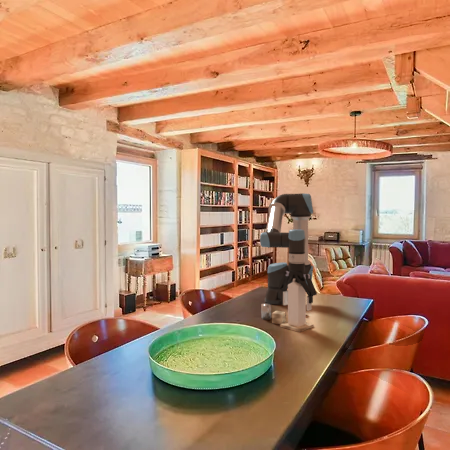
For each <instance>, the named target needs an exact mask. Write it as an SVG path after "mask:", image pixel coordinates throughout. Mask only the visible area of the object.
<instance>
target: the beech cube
mask: <svg viewBox="0 0 450 450" xmlns="http://www.w3.org/2000/svg"><path fill="white" fill-rule="evenodd" d="M286 318H287V317H286V311H281V310H275V311H273V312H271V323H272V324H276V325H280V324H283V323H286V322H287V321H286Z"/></svg>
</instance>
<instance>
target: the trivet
mask: <svg viewBox="0 0 450 450" xmlns="http://www.w3.org/2000/svg"><path fill="white" fill-rule="evenodd" d="M279 326H280V328H284V329H287V330H291V331H293V332H294V331H295V332H297V333H301V332H304V331H307V330H309V329H312V328H314V324H313V323H309V322H306V324H305V325H302V326H299V327H297V326H293V325H289V324H288V321H286V322H285V323H283V324H279Z"/></svg>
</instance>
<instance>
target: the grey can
mask: <svg viewBox="0 0 450 450" xmlns="http://www.w3.org/2000/svg"><path fill="white" fill-rule="evenodd" d="M260 305H261V307H260V308H261V309H260V313H261V314H260V315H261V318H262V319H261V320H266V321H267V320H268V321H269V320H272V304H269V303H266V302H265V303H261V304H260Z"/></svg>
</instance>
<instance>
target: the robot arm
mask: <svg viewBox="0 0 450 450" xmlns="http://www.w3.org/2000/svg"><path fill="white" fill-rule="evenodd" d="M286 214H287V215H288V214H289V215H290V218H291V219H292V229H289V231H288V232H281V231H282V224H283V218H284V215H286ZM313 214H314V208H313V201H312V195H311V194H310V193H305V192H304V193H301V192H300V193H282V194H280V195H277V196H276V197H275V198H273V199H272V200H271V201H270V203H269V206H268V219H267V222H266V223H267V224H266V229H265V232H261V233H260V235H259V236H260V237H259V245H260V246H261V247H262V248H268V249H269V248H287V249H288V263H287V262H275V263H271V264H269V265H268V267H267V271H266V272H267V290H266V293H265V296H264V302H265V303H267V304H271V305H282V306H288V284H290V283H292V282H293V279H294V278H295V281H296V282H297V283H300V284H301V285H302V287H303V288H304V290H305V291H306V312H307V311H312V304H313V302H314V300H313V299H314V296H317V294H318V293H317V291H316V288H315V286H314V282H313V280H312V279H313V274H314V273H313V272H314V265H312V263H311V261H310V260H309V220H310V218H311V217H312V215H313Z"/></svg>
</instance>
